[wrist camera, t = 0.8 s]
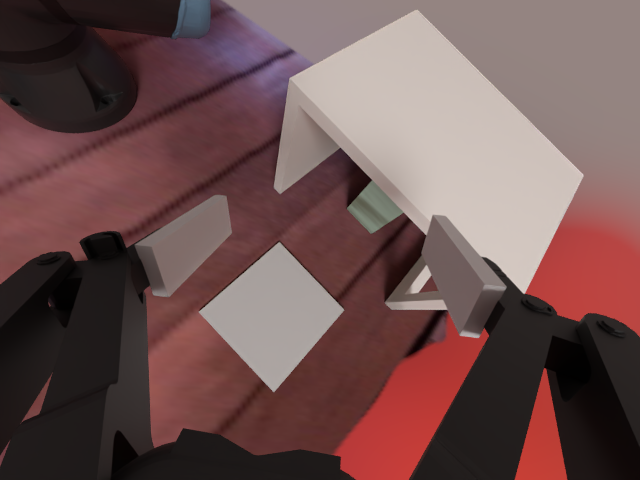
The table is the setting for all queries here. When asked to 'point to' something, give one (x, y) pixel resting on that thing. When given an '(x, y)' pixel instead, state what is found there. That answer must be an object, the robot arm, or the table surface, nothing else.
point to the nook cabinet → (431, 147)
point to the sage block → (374, 208)
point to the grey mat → (273, 315)
